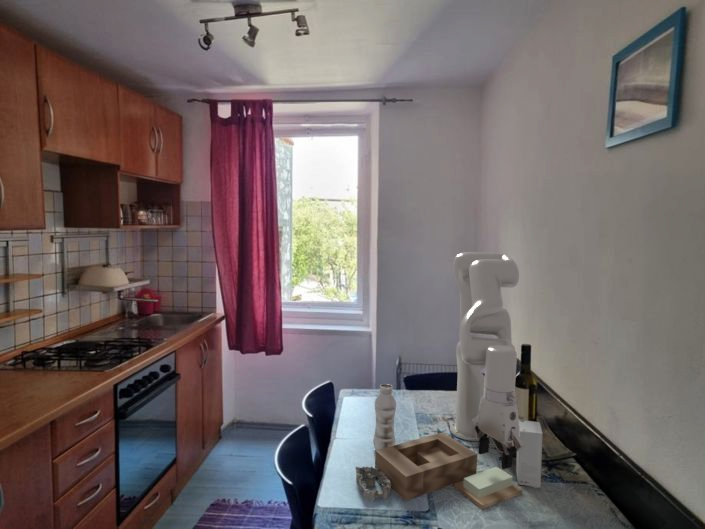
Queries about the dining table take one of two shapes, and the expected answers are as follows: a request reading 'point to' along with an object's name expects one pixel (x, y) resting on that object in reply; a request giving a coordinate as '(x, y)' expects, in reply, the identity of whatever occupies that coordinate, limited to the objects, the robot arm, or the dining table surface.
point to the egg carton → (372, 482)
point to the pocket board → (425, 465)
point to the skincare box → (529, 454)
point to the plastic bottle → (384, 418)
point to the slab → (487, 482)
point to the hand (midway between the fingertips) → (494, 459)
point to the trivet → (490, 498)
